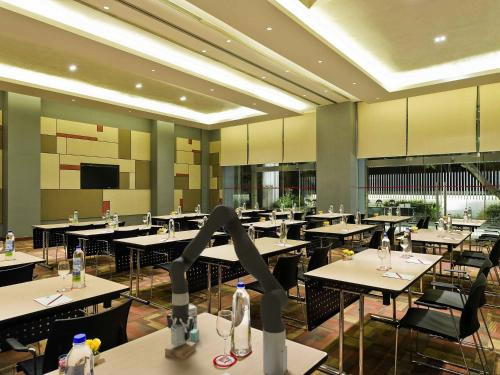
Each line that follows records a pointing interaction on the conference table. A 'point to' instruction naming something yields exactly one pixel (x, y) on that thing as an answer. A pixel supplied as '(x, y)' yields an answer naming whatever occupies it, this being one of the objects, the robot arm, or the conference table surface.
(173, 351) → the walnut slab
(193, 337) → the teal cube
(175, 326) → the medicine box
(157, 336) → the conference table surface
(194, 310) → the ink box
